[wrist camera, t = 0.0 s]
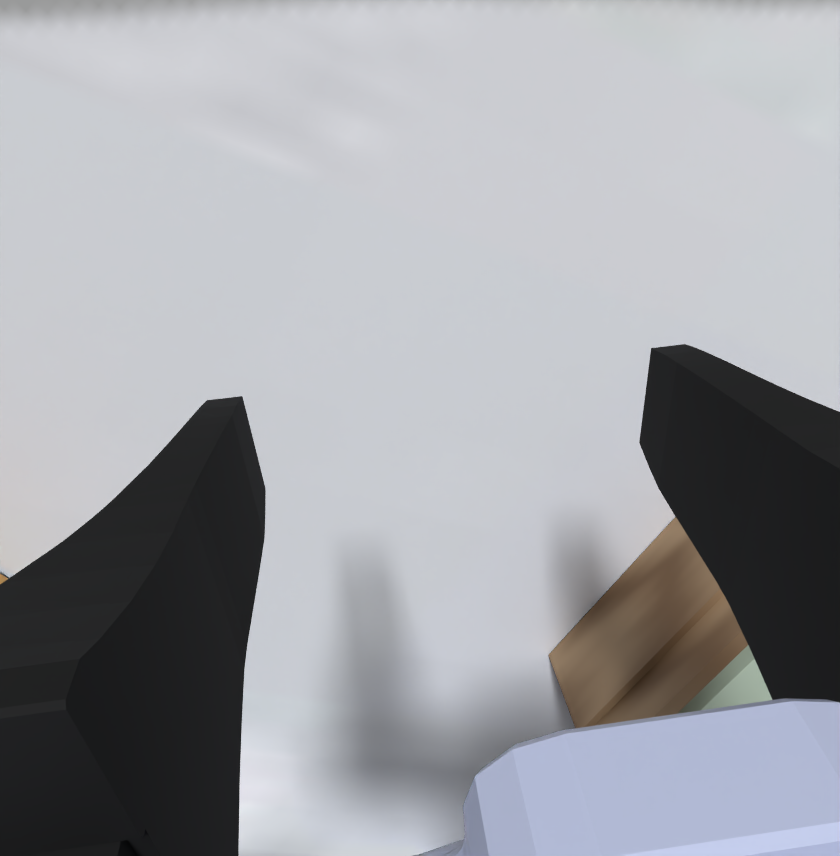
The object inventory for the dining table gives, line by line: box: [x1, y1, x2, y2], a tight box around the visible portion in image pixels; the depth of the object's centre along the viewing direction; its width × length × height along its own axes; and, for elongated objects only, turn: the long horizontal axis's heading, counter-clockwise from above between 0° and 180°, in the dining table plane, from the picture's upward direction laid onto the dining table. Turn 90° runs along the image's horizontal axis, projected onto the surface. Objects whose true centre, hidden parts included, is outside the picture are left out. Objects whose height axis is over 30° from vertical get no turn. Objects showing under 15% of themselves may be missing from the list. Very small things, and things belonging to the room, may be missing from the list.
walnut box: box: [549, 517, 748, 728], centre depth 27 cm, size 10×12×6 cm
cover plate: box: [677, 645, 772, 714], centre depth 25 cm, size 7×9×2 cm
